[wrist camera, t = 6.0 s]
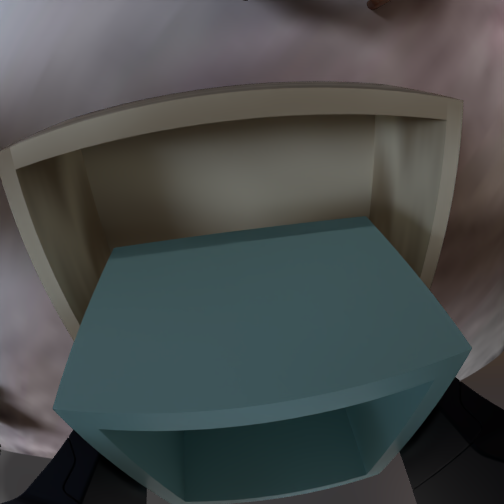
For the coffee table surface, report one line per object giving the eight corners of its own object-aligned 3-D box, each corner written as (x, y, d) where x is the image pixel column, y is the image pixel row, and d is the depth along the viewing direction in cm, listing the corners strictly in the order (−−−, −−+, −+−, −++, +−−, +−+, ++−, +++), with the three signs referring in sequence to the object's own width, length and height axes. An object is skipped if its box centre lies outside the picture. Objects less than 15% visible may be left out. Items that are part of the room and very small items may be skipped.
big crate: (66, 120, 11) (-6, 153, 6) (382, 84, 12) (463, 100, 7) (142, 347, 18) (131, 421, 14) (359, 318, 19) (392, 385, 14)
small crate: (174, 392, 12) (172, 504, 8) (114, 247, 8) (52, 408, 4) (341, 368, 12) (378, 473, 8) (366, 216, 8) (471, 348, 4)
